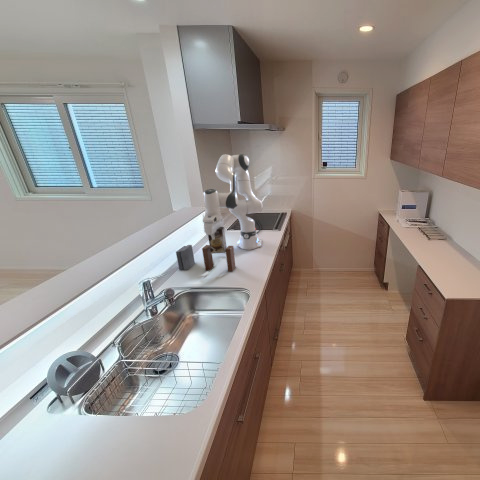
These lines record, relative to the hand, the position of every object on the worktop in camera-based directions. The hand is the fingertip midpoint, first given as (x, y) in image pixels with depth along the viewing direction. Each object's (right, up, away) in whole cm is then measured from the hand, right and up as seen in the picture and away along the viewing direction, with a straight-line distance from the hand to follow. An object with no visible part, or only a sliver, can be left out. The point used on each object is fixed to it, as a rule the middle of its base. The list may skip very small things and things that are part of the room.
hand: (216, 236), depth 158 cm
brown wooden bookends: (-1, -22, +8) cm, 23 cm away
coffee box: (0, -10, +4) cm, 11 cm away
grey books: (-24, -20, +10) cm, 33 cm away
